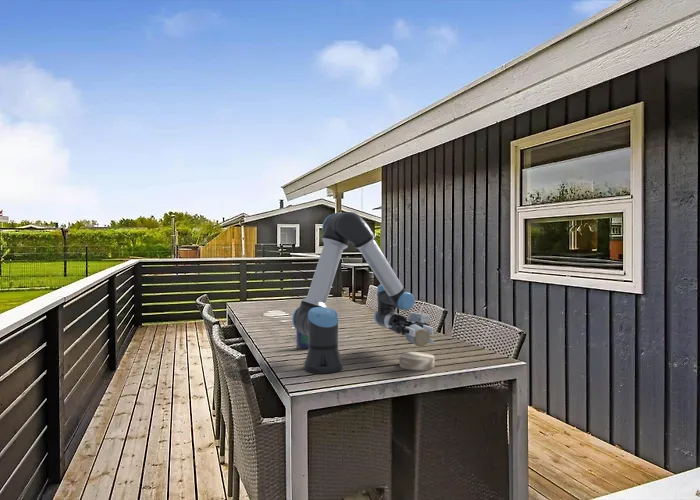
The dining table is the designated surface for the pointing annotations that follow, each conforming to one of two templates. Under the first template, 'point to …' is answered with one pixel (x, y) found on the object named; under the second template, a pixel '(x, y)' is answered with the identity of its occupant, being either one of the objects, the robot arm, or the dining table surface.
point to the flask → (302, 341)
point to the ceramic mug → (419, 336)
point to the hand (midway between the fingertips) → (423, 332)
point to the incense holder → (418, 317)
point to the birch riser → (416, 361)
